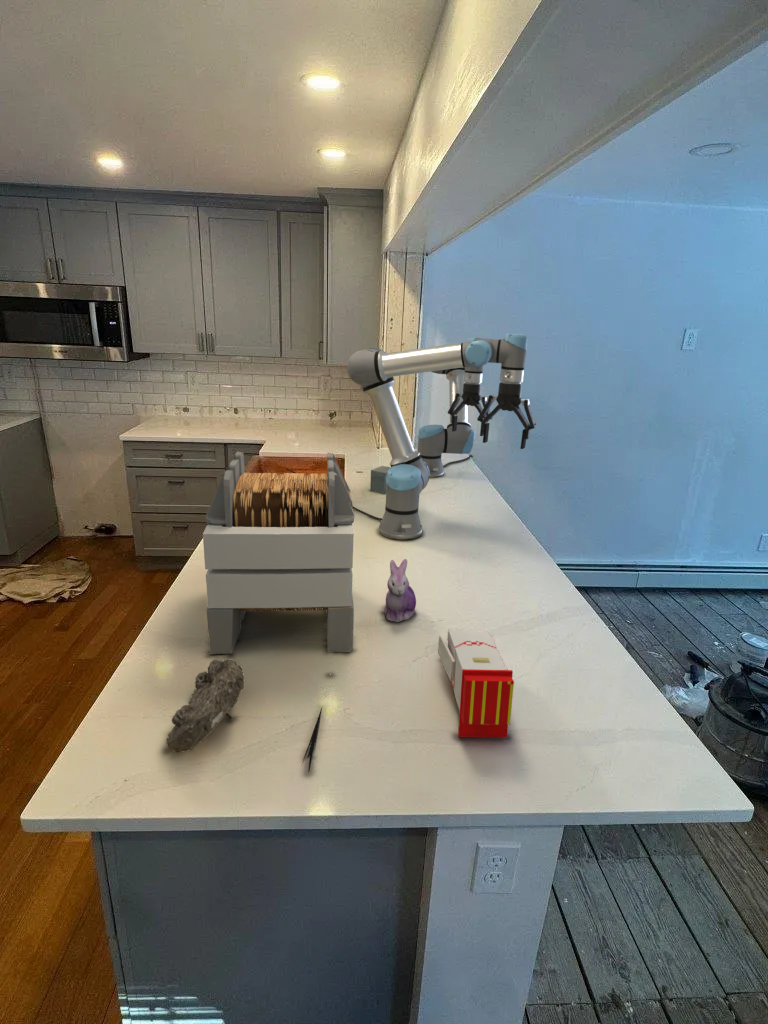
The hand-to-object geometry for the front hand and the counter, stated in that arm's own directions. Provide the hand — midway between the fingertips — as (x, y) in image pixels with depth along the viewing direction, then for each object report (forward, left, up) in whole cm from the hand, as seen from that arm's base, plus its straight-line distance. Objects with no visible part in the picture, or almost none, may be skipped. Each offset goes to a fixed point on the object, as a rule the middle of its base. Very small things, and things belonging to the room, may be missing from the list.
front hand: (503, 445), depth 195 cm
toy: (+56, -77, -32) cm, 101 cm away
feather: (+44, -107, -32) cm, 120 cm away
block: (-60, -2, -32) cm, 68 cm away
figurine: (+24, -68, -32) cm, 78 cm away
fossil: (+31, -122, -32) cm, 130 cm away
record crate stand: (+7, -92, -32) cm, 97 cm away
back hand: (-41, +29, -7) cm, 51 cm away
